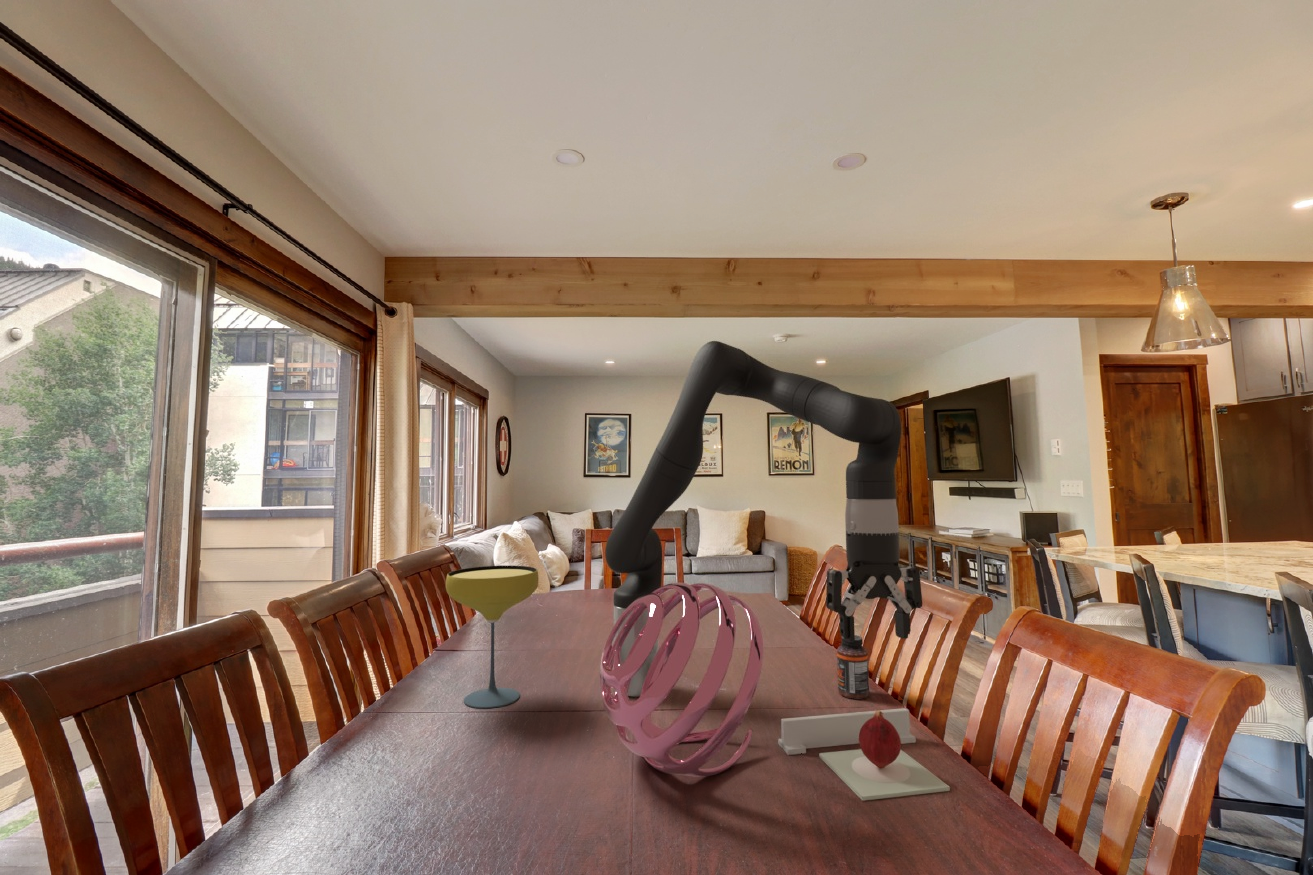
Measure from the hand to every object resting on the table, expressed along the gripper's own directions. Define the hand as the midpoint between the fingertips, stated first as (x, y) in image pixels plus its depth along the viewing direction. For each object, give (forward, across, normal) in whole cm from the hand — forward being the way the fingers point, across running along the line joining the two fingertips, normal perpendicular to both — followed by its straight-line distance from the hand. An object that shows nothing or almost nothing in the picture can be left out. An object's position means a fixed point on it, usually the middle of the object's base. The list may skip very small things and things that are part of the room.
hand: (875, 639), depth 88 cm
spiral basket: (+19, +28, -10) cm, 35 cm away
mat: (+19, 0, 0) cm, 19 cm away
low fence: (+19, 0, -10) cm, 22 cm away
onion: (+19, 0, 0) cm, 19 cm away
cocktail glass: (+20, +59, -43) cm, 75 cm away
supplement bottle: (+19, -12, -30) cm, 38 cm away
